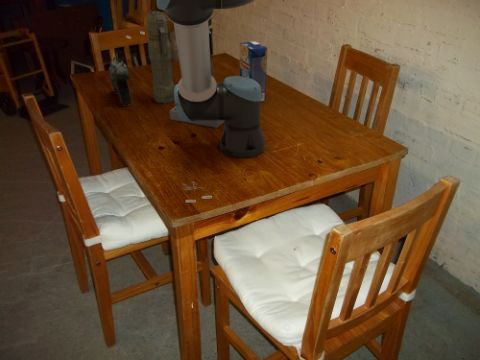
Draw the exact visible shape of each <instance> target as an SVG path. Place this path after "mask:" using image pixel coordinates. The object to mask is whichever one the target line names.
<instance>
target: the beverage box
mask: <svg viewBox="0 0 480 360" xmlns="http://www.w3.org/2000/svg"><path fill="white" fill-rule="evenodd" d="M267 63H268V47H267V46H265V45H263V44H261V43H259V42H257V41H256V40H253V41H246V42H239V76H241V77H247V78H250V79H252V80H255V81H256V82H257V83H259V85H260V87H261V97H262V100H261V102H265V101H266V94H267V93H266V92H267V91H266V90H267V69H268V68H267V67H268V65H267Z"/></svg>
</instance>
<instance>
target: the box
mask: <svg viewBox="0 0 480 360" xmlns="http://www.w3.org/2000/svg"><path fill="white" fill-rule="evenodd" d="M169 118H170V121H171V120H172V121H178V122H181V123H182V122H183V123H189V124H193V125H197V126H198V125H199V126H204V127H208V128H209V127H210V128H216V129H219V128H220V126H222V125H223V124H224V123H225V120H214V121H184V120H182V119H180V117H179V116H178V113H177V110H176V105H175V106H174V107H173V108H171V109H170V110H169Z"/></svg>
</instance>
